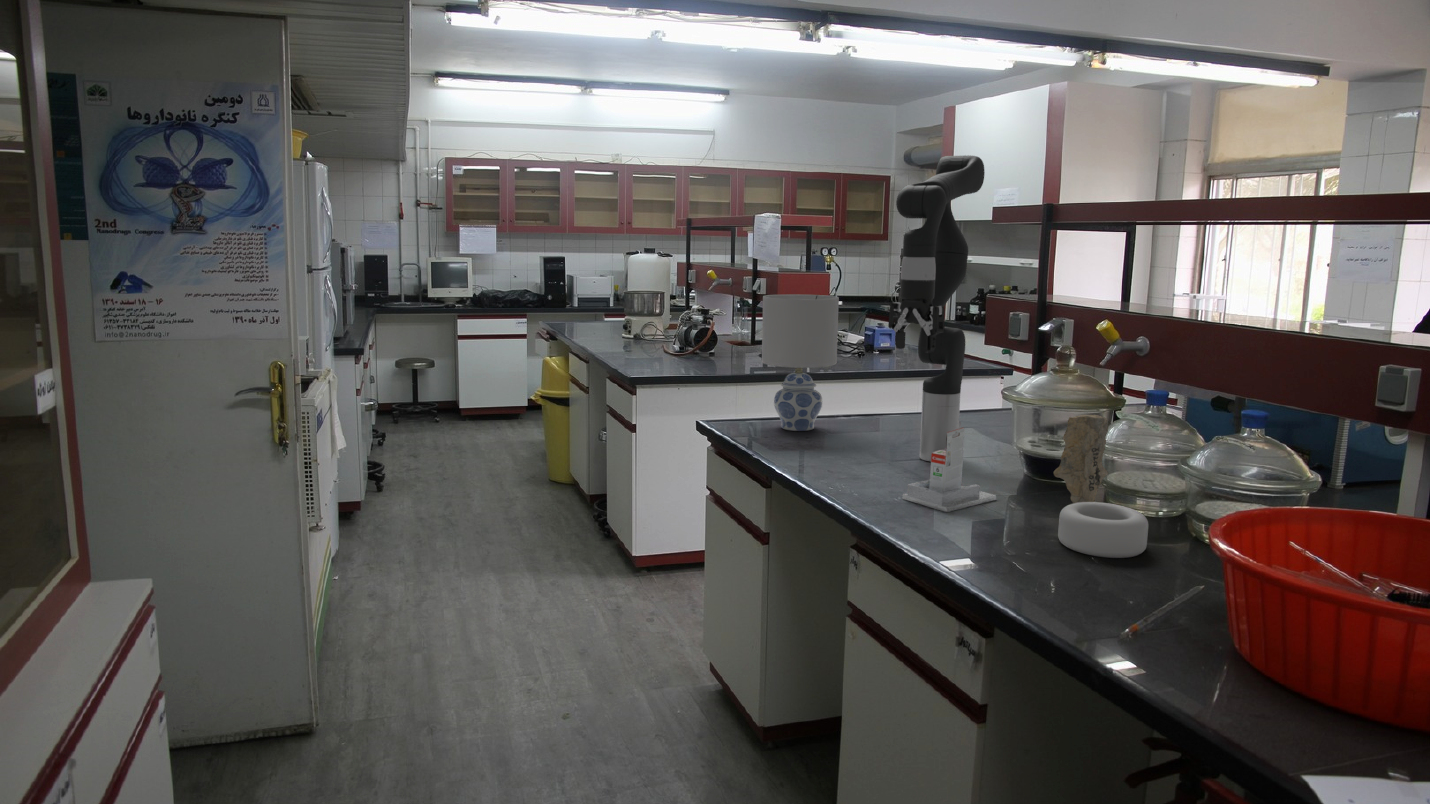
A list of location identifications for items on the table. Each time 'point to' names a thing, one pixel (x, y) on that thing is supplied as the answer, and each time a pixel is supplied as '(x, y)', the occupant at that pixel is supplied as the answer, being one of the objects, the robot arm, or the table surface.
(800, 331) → the lamp
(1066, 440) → the stone tool
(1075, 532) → the thick torus
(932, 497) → the bracket
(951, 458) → the ink box
